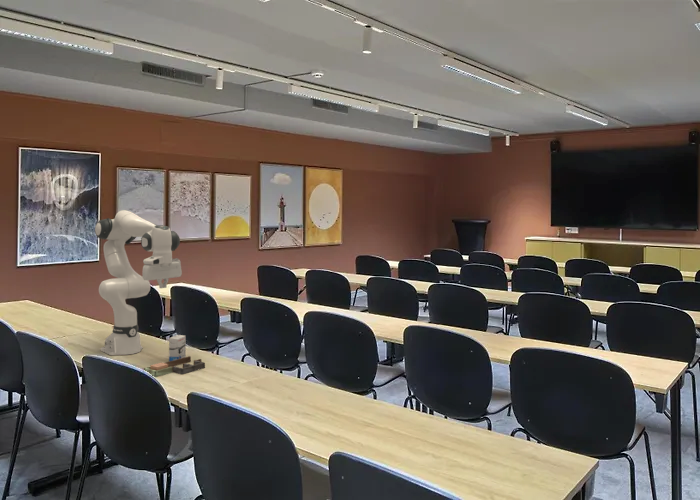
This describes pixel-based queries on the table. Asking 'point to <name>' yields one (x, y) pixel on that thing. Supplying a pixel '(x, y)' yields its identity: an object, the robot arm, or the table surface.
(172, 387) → the table surface
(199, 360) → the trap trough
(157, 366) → the block
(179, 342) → the ink box
